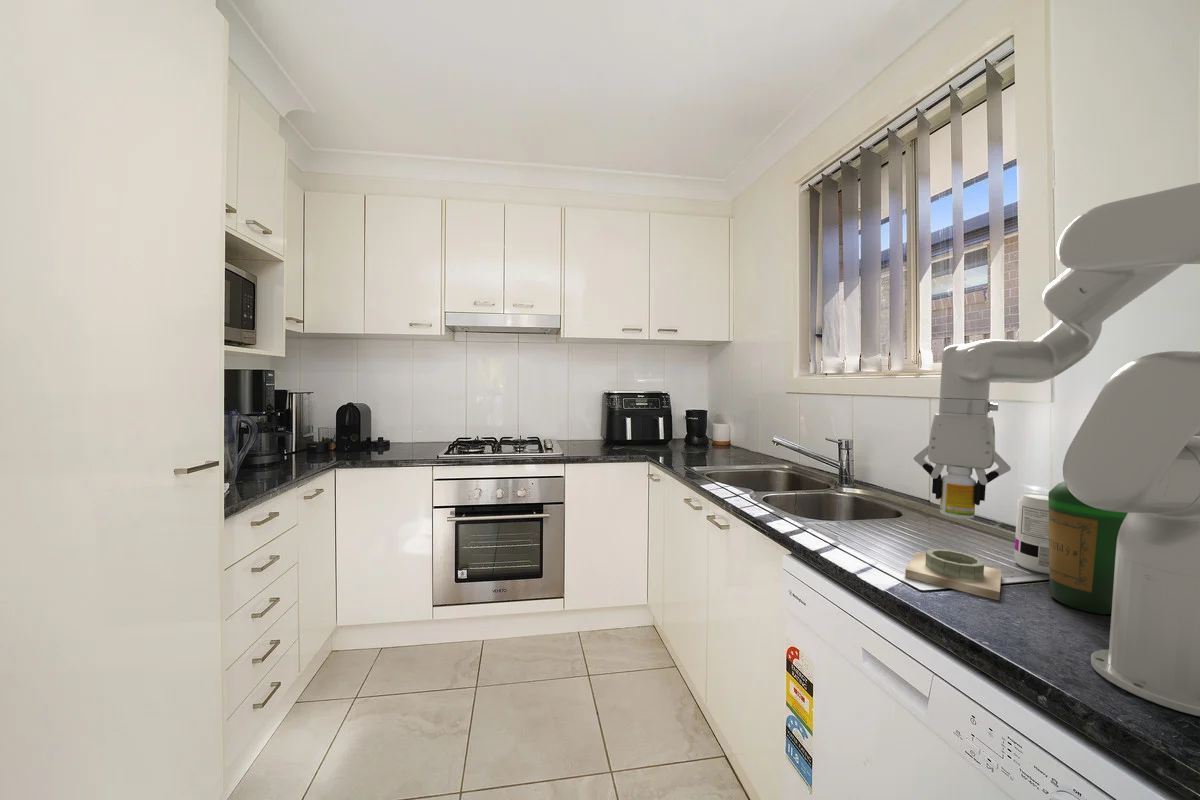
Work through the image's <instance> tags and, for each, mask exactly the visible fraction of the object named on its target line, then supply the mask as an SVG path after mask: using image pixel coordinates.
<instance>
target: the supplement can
mask: <svg viewBox="0 0 1200 800" xmlns="http://www.w3.org/2000/svg"><path fill="white" fill-rule="evenodd" d="M1016 507H1017V508H1016V520H1015V521H1016V522H1015V523H1016V524H1015V540H1014V551H1013V553H1014V555H1013V560H1014V561H1015V563H1017V565H1018V566H1020V567H1022V568H1023V569H1024V568H1025V569H1027V570H1029V571H1033V572H1037V573H1042V574H1047V575H1049V502H1048V494H1042V493H1031V492H1028V493H1026V492H1025V493H1022V494H1021V496H1020V498H1018V499H1017V506H1016Z"/></svg>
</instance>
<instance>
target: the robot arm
mask: <svg viewBox="0 0 1200 800" xmlns="http://www.w3.org/2000/svg"><path fill="white" fill-rule="evenodd" d="M1056 255H1057V259H1058V260H1059V262H1060V263H1061V264H1062V265H1063V266H1064V267H1066V268H1067V269H1065V271H1064V272H1062V273H1061V274H1060V275H1059V276H1058V277H1057V278H1056V279H1054V280H1053V281H1052V282H1050V283H1049V284H1048V285H1047V286H1046V287H1045V288H1044V291H1043V292H1042V302H1043V304H1044V306H1045V307H1046V309H1047V311H1049V313H1051V315H1053V316H1054V318H1056V319H1057V320H1059V322H1058V323H1057V324H1056V325H1055V326H1054V327H1053V328H1051V329H1050V330H1049V331H1047V332H1045V334H1043V335H1042V336H1040V337H1039V338H1037V339H1036V340H1035V339H1034V340H1024V339H1023V340H1020V339H1016V340H1015V339H983V340H982V339H981V340H978V341H974V342H970V343H960V344H958V343H957V344H952V345H949V346H946V347H945V348H944V349H943V351H942V354H941V355H942V356H941V358H942V359H941V371H940V372H941V373H940V389H939V392H940V393H939V403H938V404H939V407H938V408H939V409H938V413H934V415H933V418H932V419H933V420H932V423H931V429H930V433H929V440H928V445H927V446H926V447H925V448H924V449H922V450H921V451H920V452H918V453H917V454H916V455H915V456H914V457H913V460H914V461H915V462H916V463H917V464H918V465H919V466H921V467H922V468H923V469H924V471H925V472H927V473H928V475H930V477H931V478H932V483H931V484H932V485H931V486H932V487H931V493H932V494H935V500H941V483H942V477H943V476H942V474H941V473H942V471H943V470H944V467H945V466H947V465H948V466H956V467H965V468H973V469H974V471H975V474H976V477H977V481H976V487H975V506H980V504H981V502H985V501H986V485H987V484H988V483H991V482H992V481H994V480H995V479H997V478H999V477H1000V476H1003V475H1004V474H1006V473H1008V472H1010V471H1011V469H1012V467H1011V466H1010V464H1009V463H1008V462H1007V461H1005V460H1004V459H1003V457H1002V456H1000V454H999V453H997V452H996V432H995V431H996V430H995V422H994V418H993V417H992V416H989V413H991V412H998V411H999V403H994V402H992V401H989V398H990V383H997V384H998V383H1002V384H1003V383H1009V384H1011V383H1012V384H1013V383H1014V384H1038V383H1043V382H1045V381H1049V380H1052V379H1053V378H1055V377H1057V376H1059V375H1061V374H1062V373H1063V372H1065V371H1067V370H1068V369H1070V368H1072V367H1073V366H1074V365H1076V364H1077V363H1079V362H1080V361H1082V360H1083V359H1084V358H1086V357H1087V356H1088V355H1089V354H1090V353H1091V351H1092V350H1093V349H1094V347H1095V345H1096V343H1097V342H1098V340H1099V337H1100V336H1101V333H1102V327H1103V323H1104V322H1105V321H1106V320H1107V319H1109V318H1110V317H1111V316H1113V315H1115V314H1116V313H1117V312H1119V311H1120V310H1121V309H1123V308H1124V307H1125V306H1127V305H1128V304H1129V303H1131V302H1132V301H1134V300H1135V299H1137V298H1138V297H1139V296H1141V295H1143V293H1145V292H1147V291H1148V290H1149V289H1151V288H1152V287H1154V286H1155V285H1156V284H1158V283H1160V282H1161V281H1163V280H1164V279H1165V278H1167V276H1169V275H1171V274H1172V273H1173V272H1175V271H1177V270H1178V269H1179V268H1180V267H1182V266H1184V265H1200V182H1197V183H1192V184H1187V185H1182V186H1179V187H1173V188H1170V189H1169V188H1168V189H1164V190H1161V191H1157V192H1152V193H1147V194H1142V195H1139V196H1133V197H1128V198H1125V199H1119V200H1116V201H1112V202H1107V203H1104V204H1101V205H1098V206H1095V207H1093V208H1090V209H1089V210H1087V211H1085V212H1083V213H1082V214H1081V215H1079V216H1078V217H1076V218H1075V219H1074V220H1073V221H1072V222H1071V223H1069V224H1068V226H1066V227H1065V229H1064V230H1063V232H1062V234H1061V235H1060V237H1059V239H1058V241H1057V246H1056ZM926 457H927V458H928V461H929V462H931V463H932V464H935V466H933V465H932V464H930V463H929V462H928V461H927V460H926V459H925V458H926ZM994 463H995V464H996V465H998V467H997V468H995V469H994V470H991V471H990V472H988V473H986V471H985V470H988V469H991V468H992V467H993V465H994ZM1062 476H1063V482H1064V481H1065V484H1066V486H1067V488H1068V489H1069V491H1070V492H1071V493H1072V494H1073V495H1074V496H1075V497H1076V498H1077V499H1078V500H1080V501H1081V502H1083V503H1084V504H1087V505H1089V506H1091V507H1094V508H1097V509H1101V510H1105V511H1112V512H1126V513H1128V514H1127V515H1126V517H1125V519H1124V520H1123V522H1122V525H1121V527H1120V530H1119V533H1118V537H1117V543H1116V556H1115V571H1114V585H1113V599H1112V614H1110V615H1111V616H1110V627H1109V628H1110V630H1109V647H1108V649H1100V650H1095V651H1094V652H1092V653H1091V656H1090V665H1091V666H1092V668H1093V670H1095V671H1096V672H1097V673H1098V674H1099V675H1100V676H1101V677H1103V678H1104V679H1105V680H1107V681H1108V682H1110V683H1112V684H1113V685H1115V686H1117V687H1119V688H1120V689H1122V690H1124V691H1126V692H1128V693H1131V694H1133V695H1135V696H1137V697H1139V698H1142V699H1144V700H1147V701H1150V702H1152V703H1153V704H1154V703H1155V704H1158V705H1160V706H1162V707H1165V708H1169V709H1172V710H1174V711H1178V712H1181V713H1184V714H1187V715H1188V714H1189V715H1193V716H1196V717H1200V349H1199V350H1197V351H1186V350H1185V351H1181V350H1174V351H1173V350H1172V351H1171V350H1170V351H1163V352H1161V351H1160V352H1155V353H1150V354H1146V355H1143V356H1140V357H1138V358H1135V359H1133V360H1132V361H1130V362H1128V363H1126V364H1125V365H1124V366H1122V367H1120V368H1119V369H1118V370H1117V371H1116V372H1114V374H1113V375H1111V377H1110V378H1109V379H1107V382H1106V383H1105V384H1104V385H1103V388H1102V389H1101V391H1100V392H1099V394H1098V396H1097V397H1096V399H1095V400H1094V403H1093V404H1092V406H1091V408H1090V409H1089V411H1088V413H1087V415H1086V416H1085V418H1084V420H1083V421H1082V423H1081V425H1080V427H1079V428H1078V431H1077V432H1076V434H1075V436H1074V437H1073V439H1072V441H1071V443H1070V445H1069V446H1068V448H1067V451H1066V453H1065V455H1064V459H1063V464H1062Z"/></svg>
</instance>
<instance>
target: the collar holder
mask: <svg viewBox="0 0 1200 800" xmlns="http://www.w3.org/2000/svg"><path fill="white" fill-rule="evenodd" d="M904 577H905V578H908V579H911V580H914V581H915V580H916V581H920V582H922V583H923V582H924V583H928V584H932V585H936V586H939V587H944V588H947V589H951V590H956V591H960V592H962V593H967V594H972V595H976V596H979V597H983V598H988V599H992V600H995V601H1000V598H1001V597H1000V593H1001V582H1002V581H1001V580H1002V569H998V568H995V567H990V566H987V565H986V566H985V561H984V560H982V559H981V558H979V557H976V556H974V555H971V554H968V553H965V552H962V551H961V552H960V551H957V550H952V549H943V548H931V549H927V550H926V552H921V551H916V552H915V553H914V555H913V556H912V559H911V560H910V562H909V563H908V565H907V566H906V568H905V574H904Z"/></svg>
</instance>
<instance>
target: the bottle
mask: <svg viewBox="0 0 1200 800" xmlns="http://www.w3.org/2000/svg"><path fill="white" fill-rule="evenodd" d="M1047 495H1048V502H1049V574H1048V576H1049V577H1048V579H1049V581H1048V582H1049V595H1050V596H1051V597H1052V598H1053V599H1055V600H1056V601H1058V602H1059V603H1060V604H1062V605H1065V606H1067V607H1070V608H1072V609H1076V610H1079V611H1084V612H1086V613H1092V614H1098V615H1111V614H1112V599H1113V585H1114V571H1115V556H1116V543H1117V537H1118V533H1119V530H1120V527H1121V525H1122V522H1123V520H1124V519H1125V517H1126V515H1127V514H1128V513H1126V512H1112V511H1105V510H1101V509H1097V508H1094V507H1091V506H1089V505H1087V504H1084V503H1083V502H1081V501H1080V500H1078V499H1077V498H1076V497H1075V496H1074V495H1073V494H1072V493H1071V492H1070V491H1069V489H1068V488H1067V486H1066V484H1065V481H1064V480H1063V481H1062V482H1058V483H1057V484H1056V485H1055V486H1053V488H1052V489H1051V490H1050V491H1049V492H1048V493H1047Z"/></svg>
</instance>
